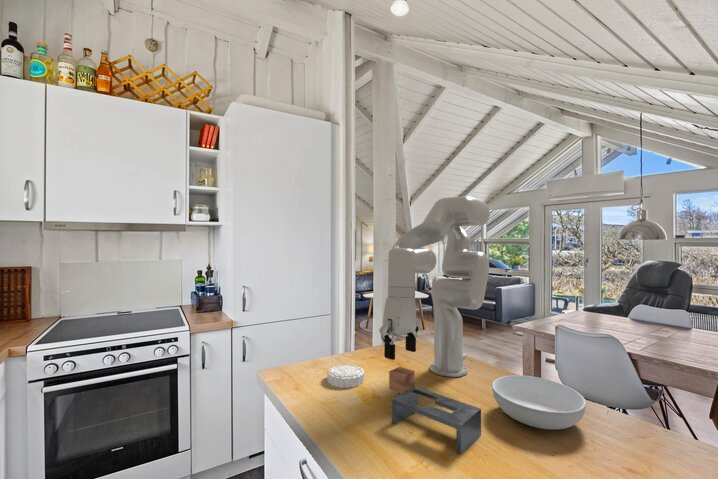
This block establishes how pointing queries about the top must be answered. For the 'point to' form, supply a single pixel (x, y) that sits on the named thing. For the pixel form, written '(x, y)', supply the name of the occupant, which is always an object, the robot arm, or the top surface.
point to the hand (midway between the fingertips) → (400, 354)
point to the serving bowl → (539, 401)
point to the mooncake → (346, 376)
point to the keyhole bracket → (441, 414)
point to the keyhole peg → (401, 380)
